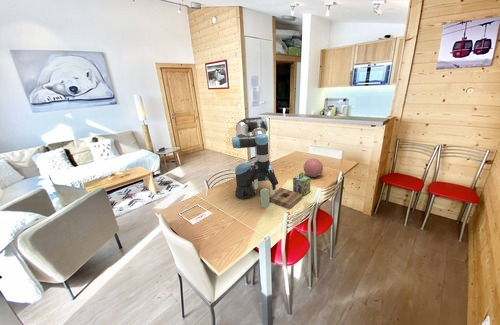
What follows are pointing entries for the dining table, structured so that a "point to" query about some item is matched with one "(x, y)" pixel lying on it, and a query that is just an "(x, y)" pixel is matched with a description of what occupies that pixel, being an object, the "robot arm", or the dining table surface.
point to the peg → (264, 198)
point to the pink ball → (313, 167)
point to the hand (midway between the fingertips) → (264, 191)
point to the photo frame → (199, 217)
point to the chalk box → (301, 184)
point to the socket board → (289, 199)
